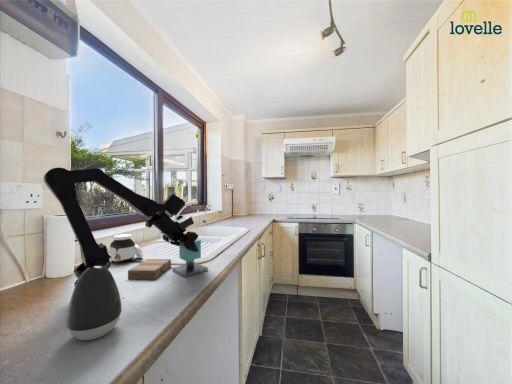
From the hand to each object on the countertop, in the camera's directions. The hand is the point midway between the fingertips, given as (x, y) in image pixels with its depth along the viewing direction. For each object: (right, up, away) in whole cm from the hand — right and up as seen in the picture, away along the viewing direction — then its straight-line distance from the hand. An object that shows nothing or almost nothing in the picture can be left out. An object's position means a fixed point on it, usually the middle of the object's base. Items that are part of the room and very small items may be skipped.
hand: (193, 249), depth 92 cm
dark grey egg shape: (-11, -9, -41) cm, 43 cm away
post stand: (-1, -8, -1) cm, 8 cm away
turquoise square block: (-1, -3, -1) cm, 3 cm away
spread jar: (-34, -8, +14) cm, 38 cm away
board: (-16, -8, -2) cm, 18 cm away
